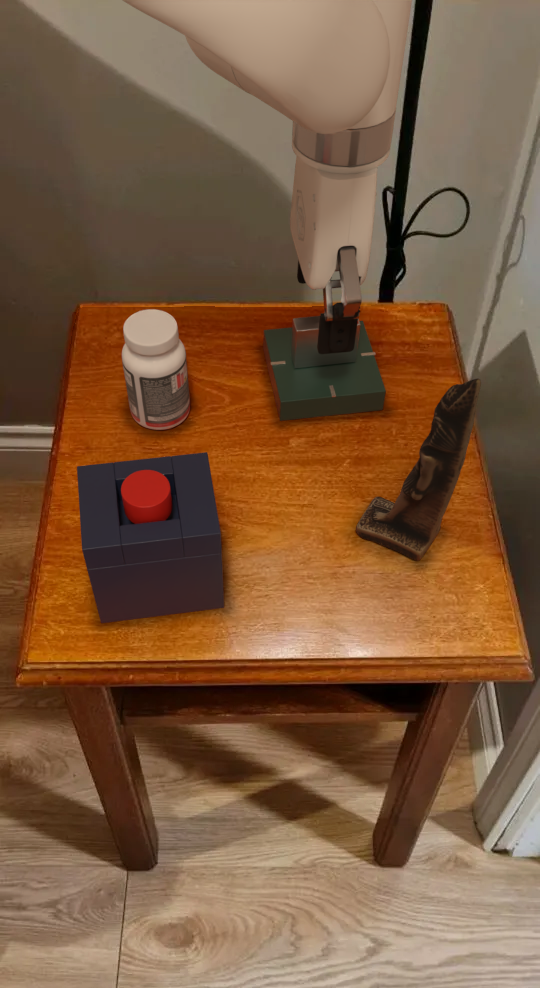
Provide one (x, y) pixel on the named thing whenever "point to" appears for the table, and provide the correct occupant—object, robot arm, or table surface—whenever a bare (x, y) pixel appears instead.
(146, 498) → the red button
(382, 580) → the table surface
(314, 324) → the tap handle
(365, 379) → the panel
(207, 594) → the button box
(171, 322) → the pill bottle
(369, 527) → the statue
